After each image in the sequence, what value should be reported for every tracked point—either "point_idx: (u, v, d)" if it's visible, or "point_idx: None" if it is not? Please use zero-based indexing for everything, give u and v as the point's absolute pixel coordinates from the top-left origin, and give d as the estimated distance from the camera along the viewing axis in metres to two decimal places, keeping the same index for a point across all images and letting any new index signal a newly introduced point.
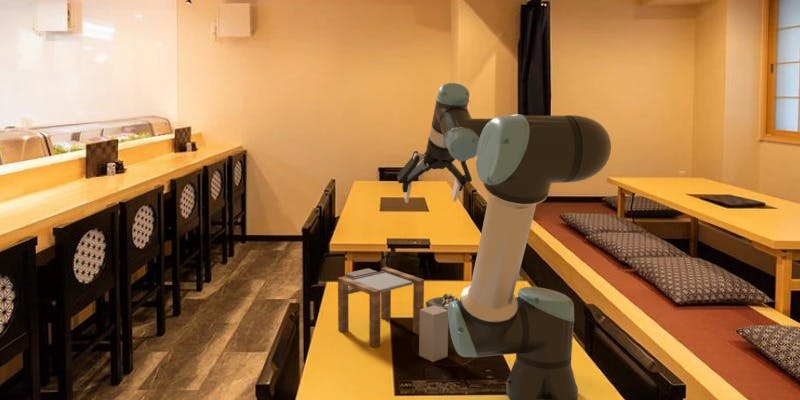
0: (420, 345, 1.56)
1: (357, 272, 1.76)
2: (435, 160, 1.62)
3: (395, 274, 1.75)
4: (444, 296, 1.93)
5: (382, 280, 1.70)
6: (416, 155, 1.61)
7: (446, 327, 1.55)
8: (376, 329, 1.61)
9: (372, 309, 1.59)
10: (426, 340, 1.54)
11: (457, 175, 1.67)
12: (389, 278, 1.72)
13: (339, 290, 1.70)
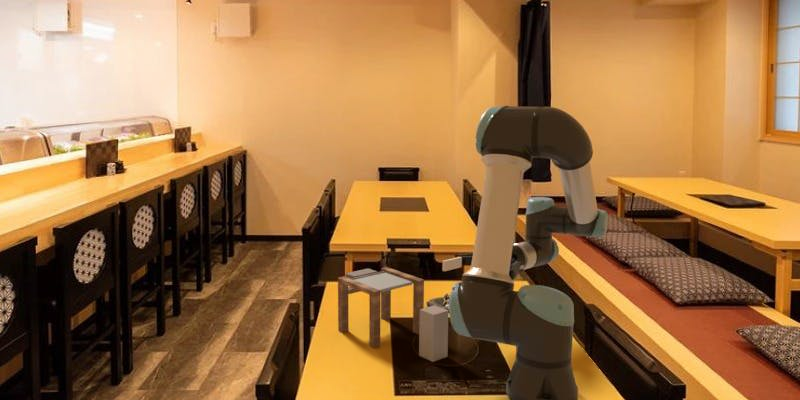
0: (420, 345, 1.56)
1: (357, 272, 1.76)
2: None
3: (395, 274, 1.75)
4: (445, 296, 1.93)
5: (382, 280, 1.70)
6: None
7: (446, 326, 1.55)
8: (376, 329, 1.61)
9: (372, 309, 1.59)
10: (426, 340, 1.54)
11: None
12: (389, 278, 1.72)
13: (339, 290, 1.70)
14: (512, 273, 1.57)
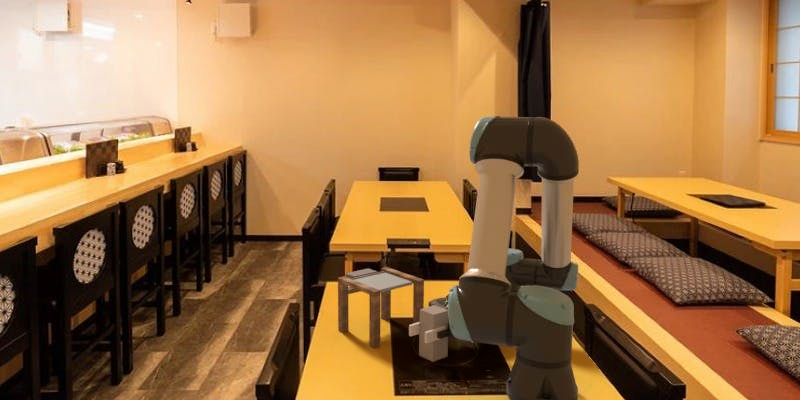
0: (420, 345, 1.56)
1: (357, 272, 1.76)
2: None
3: (395, 274, 1.75)
4: (447, 296, 1.93)
5: (382, 280, 1.70)
6: None
7: None
8: (376, 329, 1.61)
9: (372, 309, 1.59)
10: None
11: None
12: (389, 278, 1.72)
13: (339, 290, 1.70)
14: None
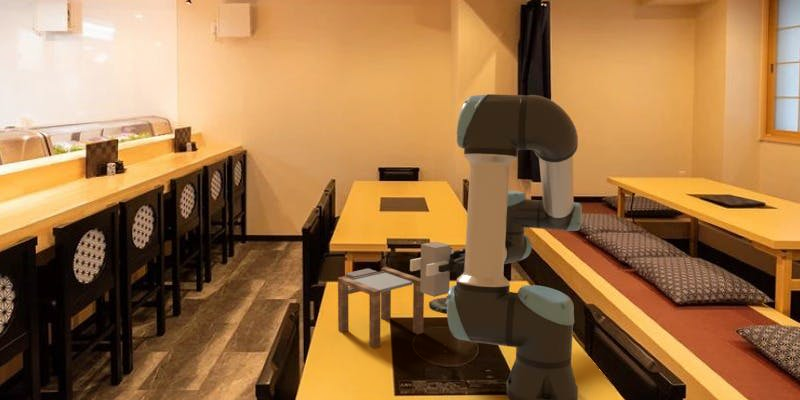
0: (421, 281, 1.54)
1: (357, 272, 1.76)
2: None
3: (395, 274, 1.75)
4: (447, 297, 1.93)
5: (382, 280, 1.70)
6: None
7: (448, 262, 1.52)
8: (376, 329, 1.61)
9: (372, 309, 1.59)
10: None
11: (459, 259, 1.54)
12: (389, 278, 1.72)
13: (339, 290, 1.70)
14: (458, 266, 1.50)
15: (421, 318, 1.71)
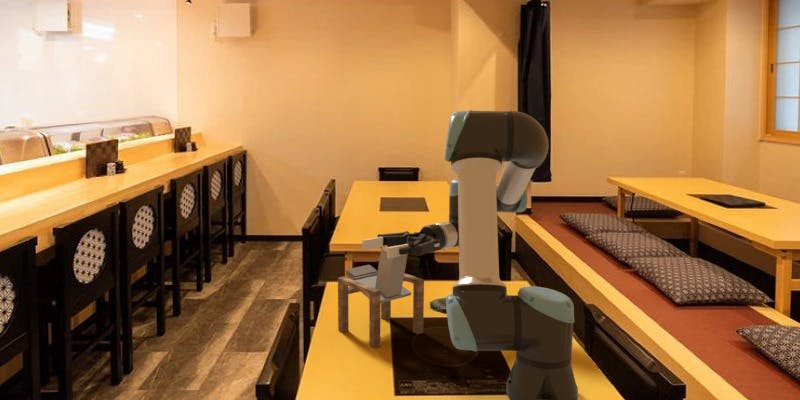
0: (377, 280, 1.67)
1: (358, 269, 1.76)
2: None
3: None
4: None
5: None
6: None
7: (404, 267, 1.65)
8: (376, 329, 1.61)
9: (372, 309, 1.59)
10: (383, 276, 1.65)
11: (416, 242, 1.66)
12: None
13: (339, 290, 1.70)
14: (418, 249, 1.62)
15: (421, 318, 1.71)
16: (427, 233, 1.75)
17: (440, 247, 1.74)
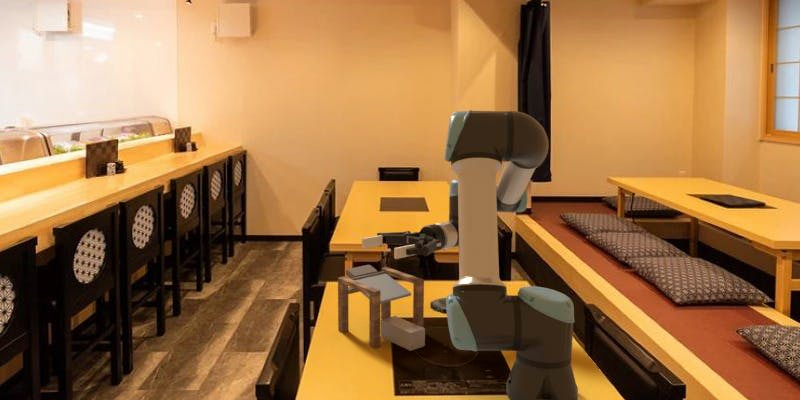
0: (387, 323, 1.66)
1: (358, 269, 1.76)
2: None
3: (395, 274, 1.75)
4: None
5: (382, 286, 1.70)
6: None
7: None
8: (376, 329, 1.61)
9: (372, 309, 1.59)
10: (392, 334, 1.65)
11: (420, 242, 1.66)
12: (388, 283, 1.73)
13: (339, 290, 1.70)
14: (425, 249, 1.61)
15: (421, 318, 1.71)
16: (427, 233, 1.75)
17: None
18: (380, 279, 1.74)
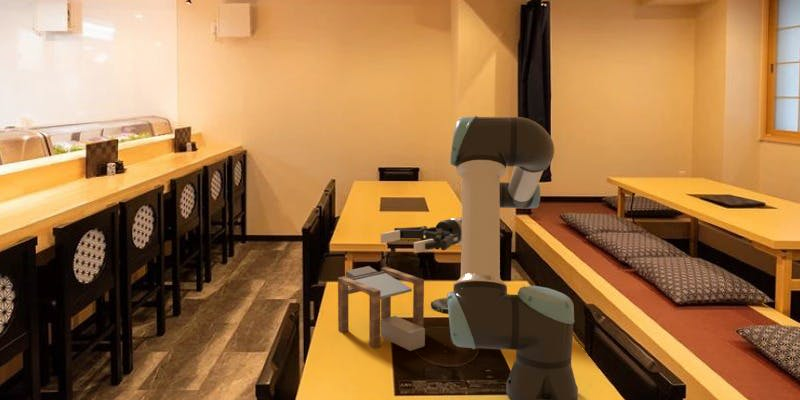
0: (387, 323, 1.66)
1: (357, 270, 1.76)
2: None
3: (395, 274, 1.75)
4: None
5: (382, 284, 1.70)
6: None
7: None
8: (376, 329, 1.61)
9: (372, 309, 1.59)
10: (392, 334, 1.65)
11: (438, 237, 1.70)
12: (389, 281, 1.72)
13: (339, 290, 1.70)
14: (444, 243, 1.66)
15: (421, 318, 1.71)
16: (443, 228, 1.79)
17: None
18: (380, 278, 1.74)
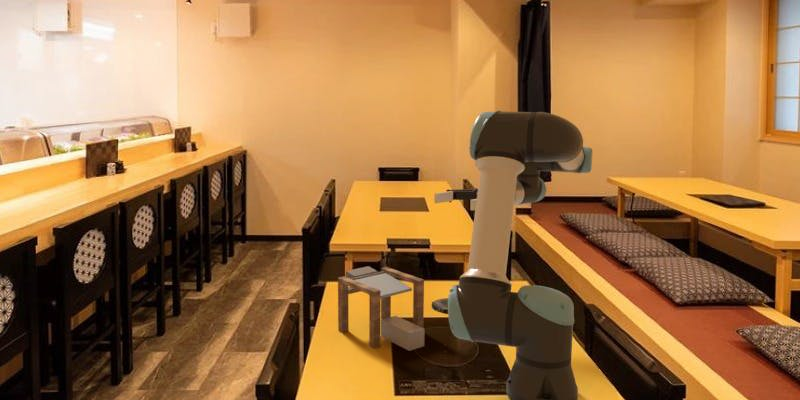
0: (387, 323, 1.66)
1: (357, 271, 1.76)
2: None
3: (395, 274, 1.75)
4: None
5: (382, 283, 1.70)
6: None
7: None
8: (376, 329, 1.61)
9: (372, 309, 1.59)
10: (392, 333, 1.65)
11: None
12: (389, 281, 1.72)
13: (339, 290, 1.70)
14: None
15: (421, 318, 1.71)
16: None
17: None
18: (380, 278, 1.74)
